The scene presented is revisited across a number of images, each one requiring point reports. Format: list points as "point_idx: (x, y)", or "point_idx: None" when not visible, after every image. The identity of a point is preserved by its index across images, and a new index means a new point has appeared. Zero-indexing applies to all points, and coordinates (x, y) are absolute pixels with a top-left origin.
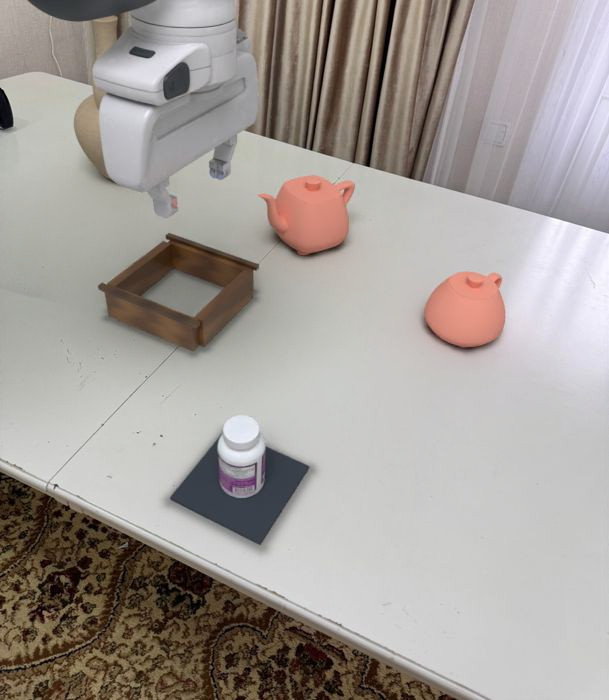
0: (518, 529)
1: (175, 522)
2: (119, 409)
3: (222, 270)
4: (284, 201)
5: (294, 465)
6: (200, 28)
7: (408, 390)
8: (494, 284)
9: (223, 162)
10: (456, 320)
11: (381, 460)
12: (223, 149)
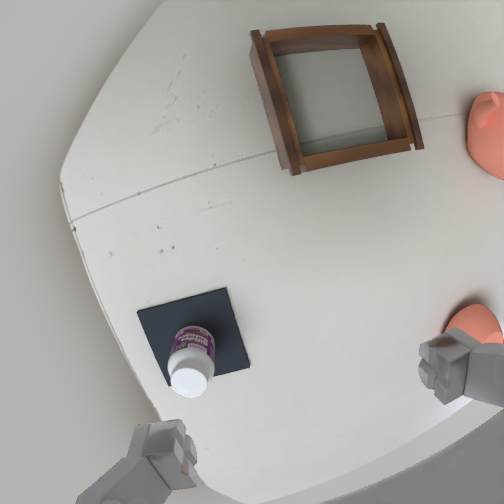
0: (307, 461)
1: (129, 329)
2: (163, 186)
3: (392, 108)
4: (502, 112)
5: (241, 359)
6: None
7: (378, 357)
8: None
9: (460, 389)
10: None
11: (298, 392)
12: (497, 382)
